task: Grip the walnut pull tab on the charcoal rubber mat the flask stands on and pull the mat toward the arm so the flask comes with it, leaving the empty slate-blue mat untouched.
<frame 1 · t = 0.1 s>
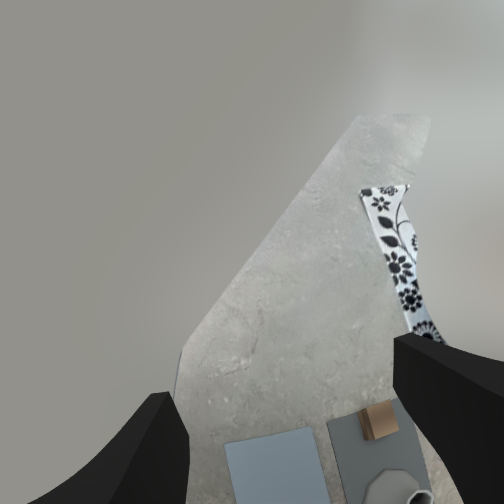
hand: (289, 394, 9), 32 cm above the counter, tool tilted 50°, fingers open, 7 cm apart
flask: (389, 493, 29), resting on charcoal mat
charcoal mat: (390, 471, 29), point 3 cm above the counter, slide at 0.1 cm, touching flask
slate mat: (282, 499, 30), on the counter
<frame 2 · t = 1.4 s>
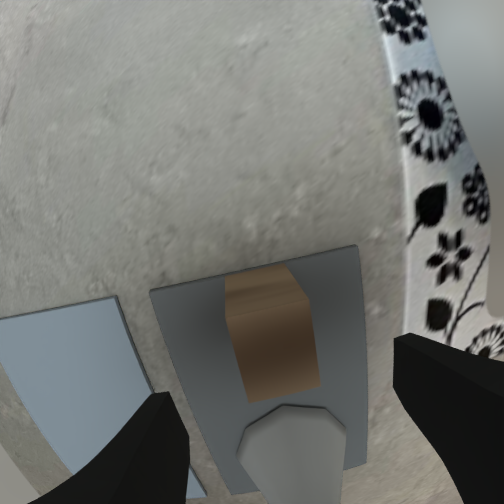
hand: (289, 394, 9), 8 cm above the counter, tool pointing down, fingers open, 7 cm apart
flask: (290, 439, 19), resting on charcoal mat
charcoal mat: (290, 431, 16), point 3 cm above the counter, slide at 0.1 cm, touching flask
slate mat: (96, 425, 18), on the counter
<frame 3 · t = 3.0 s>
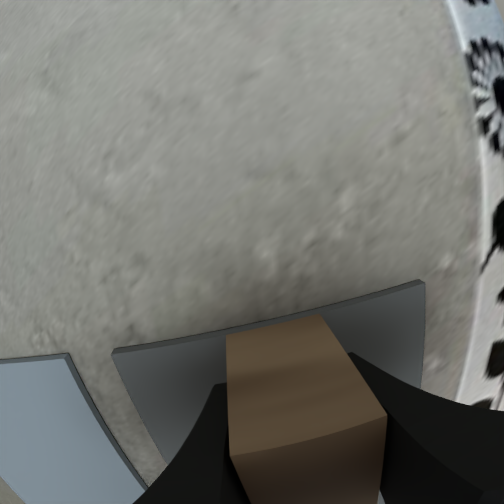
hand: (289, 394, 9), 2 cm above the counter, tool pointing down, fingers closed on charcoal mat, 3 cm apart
slate mat: (69, 490, 12), on the counter
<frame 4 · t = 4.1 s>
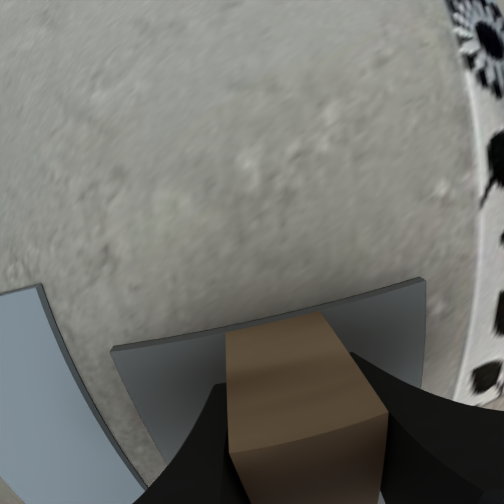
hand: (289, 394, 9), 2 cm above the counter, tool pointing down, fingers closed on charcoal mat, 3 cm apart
slate mat: (43, 460, 11), on the counter
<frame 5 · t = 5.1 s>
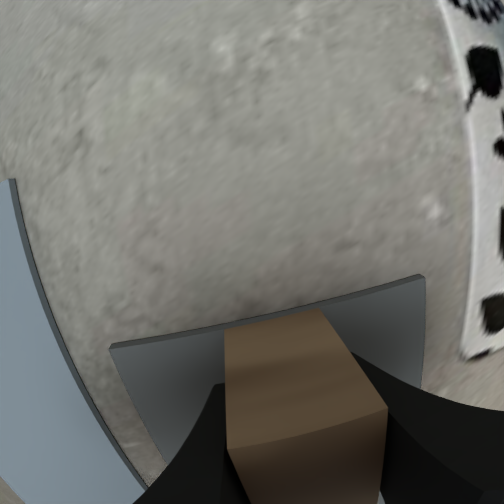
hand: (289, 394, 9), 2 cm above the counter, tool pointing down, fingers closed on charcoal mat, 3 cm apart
slate mat: (6, 406, 10), on the counter
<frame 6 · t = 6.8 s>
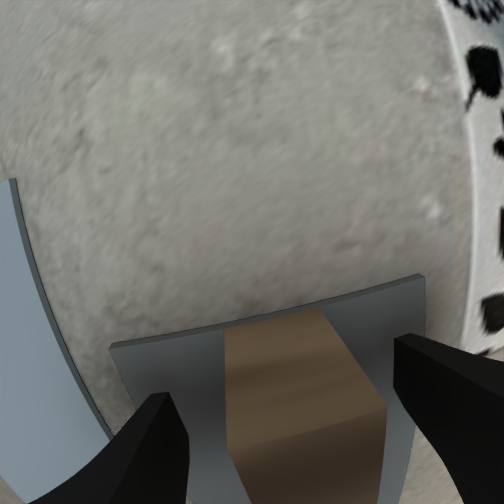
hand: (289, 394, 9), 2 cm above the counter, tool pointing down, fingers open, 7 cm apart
slate mat: (6, 405, 10), on the counter
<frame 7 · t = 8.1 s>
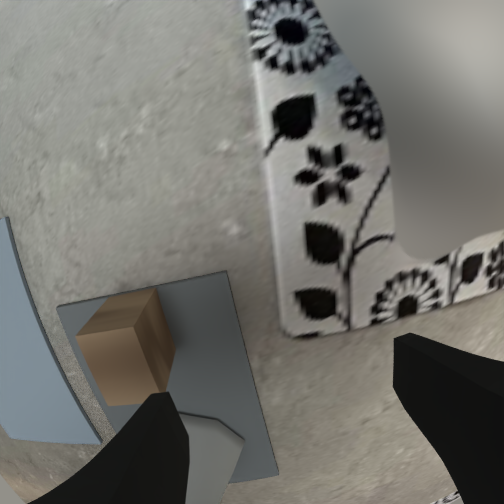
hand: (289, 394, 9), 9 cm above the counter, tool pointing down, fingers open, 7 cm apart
flask: (193, 444, 20), resting on charcoal mat
charcoal mat: (174, 436, 17), point 3 cm above the counter, slide at 6.4 cm, touching flask
slate mat: (1, 351, 18), on the counter
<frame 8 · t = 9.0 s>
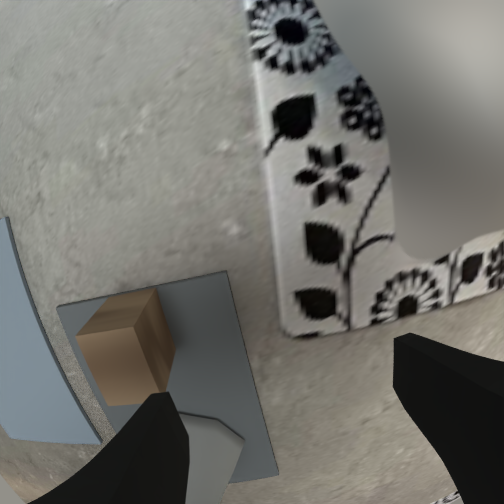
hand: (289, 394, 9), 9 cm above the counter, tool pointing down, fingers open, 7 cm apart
flask: (193, 444, 20), resting on charcoal mat
charcoal mat: (174, 436, 17), point 3 cm above the counter, slide at 6.4 cm, touching flask
slate mat: (1, 351, 18), on the counter
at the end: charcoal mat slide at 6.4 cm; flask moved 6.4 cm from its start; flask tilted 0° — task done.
